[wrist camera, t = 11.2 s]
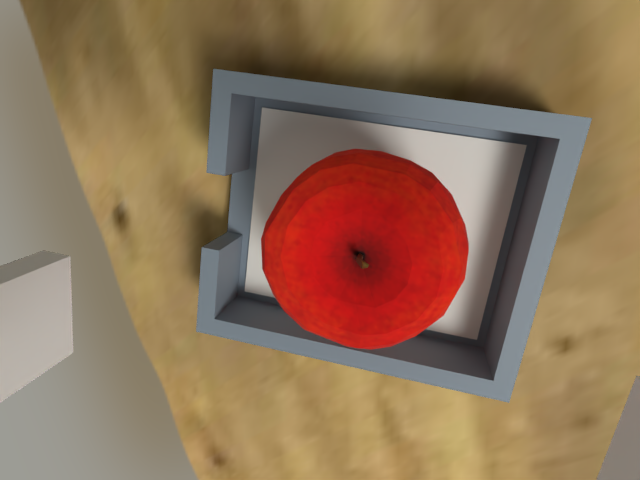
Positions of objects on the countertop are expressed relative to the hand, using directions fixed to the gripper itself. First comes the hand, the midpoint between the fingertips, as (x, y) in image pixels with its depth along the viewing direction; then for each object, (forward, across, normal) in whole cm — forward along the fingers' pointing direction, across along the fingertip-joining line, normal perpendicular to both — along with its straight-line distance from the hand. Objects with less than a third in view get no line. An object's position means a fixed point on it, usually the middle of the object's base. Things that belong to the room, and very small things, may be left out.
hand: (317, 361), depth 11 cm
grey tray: (+17, 0, 0) cm, 17 cm away
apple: (+16, 0, 0) cm, 16 cm away
